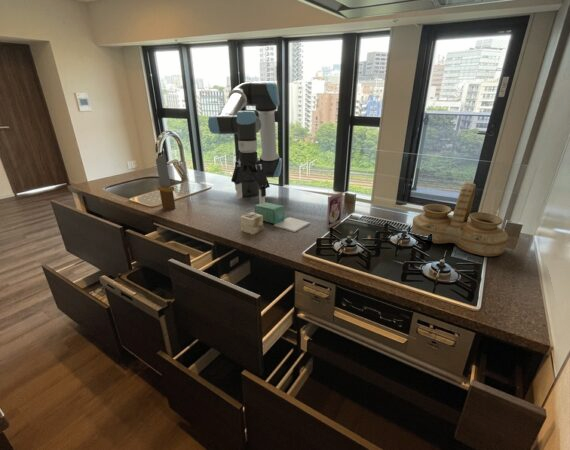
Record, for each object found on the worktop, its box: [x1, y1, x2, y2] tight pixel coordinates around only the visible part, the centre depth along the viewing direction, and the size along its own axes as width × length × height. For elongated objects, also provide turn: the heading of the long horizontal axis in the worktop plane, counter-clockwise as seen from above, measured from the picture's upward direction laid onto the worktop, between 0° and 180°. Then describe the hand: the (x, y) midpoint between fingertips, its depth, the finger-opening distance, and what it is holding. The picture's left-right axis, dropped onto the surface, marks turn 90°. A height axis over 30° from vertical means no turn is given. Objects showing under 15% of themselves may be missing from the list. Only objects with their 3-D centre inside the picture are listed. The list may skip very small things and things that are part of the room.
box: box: [254, 201, 286, 225], centre depth 144 cm, size 7×14×8 cm, turn 50°
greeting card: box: [326, 190, 344, 229], centre depth 139 cm, size 11×7×15 cm, turn 137°
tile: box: [273, 217, 311, 233], centre depth 140 cm, size 12×12×1 cm
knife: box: [155, 153, 176, 211], centre depth 158 cm, size 8×4×30 cm, turn 62°
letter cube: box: [240, 211, 264, 235], centre depth 134 cm, size 7×7×7 cm
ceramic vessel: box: [411, 181, 509, 257], centre depth 117 cm, size 34×18×25 cm, turn 51°
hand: (250, 200), depth 129 cm, fingers open, 13 cm apart
